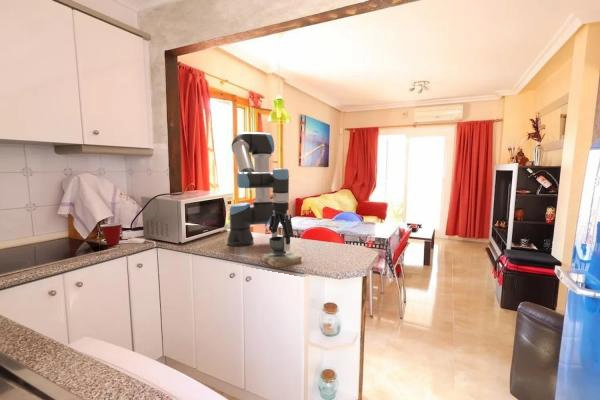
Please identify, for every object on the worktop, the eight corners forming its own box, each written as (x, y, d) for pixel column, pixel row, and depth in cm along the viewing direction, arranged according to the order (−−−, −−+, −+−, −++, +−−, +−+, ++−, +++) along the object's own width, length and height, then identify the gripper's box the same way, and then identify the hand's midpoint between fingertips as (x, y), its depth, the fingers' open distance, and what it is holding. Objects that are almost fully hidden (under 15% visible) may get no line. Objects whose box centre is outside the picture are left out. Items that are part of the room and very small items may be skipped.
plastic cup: (117, 241, 174) (115, 221, 173) (127, 243, 169) (126, 222, 168) (97, 245, 165) (95, 224, 163) (108, 247, 160) (106, 226, 158)
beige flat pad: (260, 259, 141) (260, 254, 141) (284, 254, 150) (284, 249, 149) (276, 267, 130) (276, 261, 130) (301, 261, 139) (301, 256, 138)
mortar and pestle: (273, 257, 133) (273, 231, 131) (266, 251, 141) (266, 227, 140) (295, 254, 138) (295, 229, 136) (287, 249, 146) (287, 225, 145)
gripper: (261, 199, 143) (261, 244, 146) (287, 205, 126) (287, 255, 128) (274, 199, 148) (274, 242, 150) (301, 203, 130) (301, 252, 133)
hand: (280, 248), depth 139 cm, fingers closed on mortar and pestle, 10 cm apart
